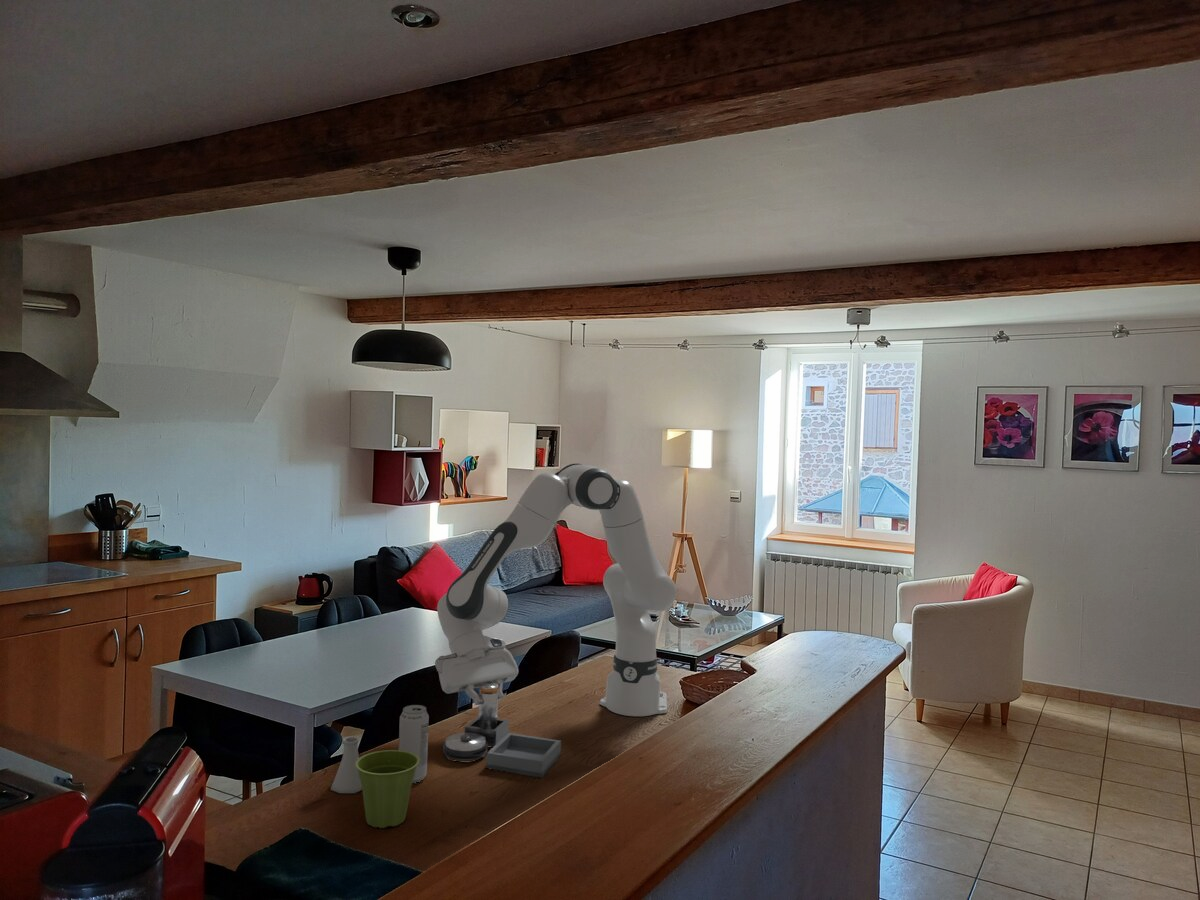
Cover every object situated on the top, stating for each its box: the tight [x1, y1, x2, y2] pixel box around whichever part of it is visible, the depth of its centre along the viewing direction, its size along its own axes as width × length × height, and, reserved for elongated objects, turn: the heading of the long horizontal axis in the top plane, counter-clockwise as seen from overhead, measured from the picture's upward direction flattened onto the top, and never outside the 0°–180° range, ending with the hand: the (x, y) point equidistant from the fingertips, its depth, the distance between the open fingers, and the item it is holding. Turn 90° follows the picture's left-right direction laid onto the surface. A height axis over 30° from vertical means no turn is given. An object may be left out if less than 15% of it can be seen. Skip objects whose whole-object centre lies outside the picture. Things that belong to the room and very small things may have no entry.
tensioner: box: [442, 715, 510, 761], centre depth 193 cm, size 19×10×4 cm, turn 165°
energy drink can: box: [398, 704, 430, 784], centre depth 175 cm, size 6×6×15 cm
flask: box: [330, 736, 362, 794], centre depth 170 cm, size 7×7×10 cm
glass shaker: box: [478, 683, 499, 730], centre depth 198 cm, size 4×4×10 cm
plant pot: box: [355, 749, 420, 829], centre depth 156 cm, size 12×12×11 cm
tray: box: [485, 732, 562, 778], centre depth 186 cm, size 13×13×4 cm
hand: (490, 701), depth 198 cm, fingers closed on glass shaker, 4 cm apart
